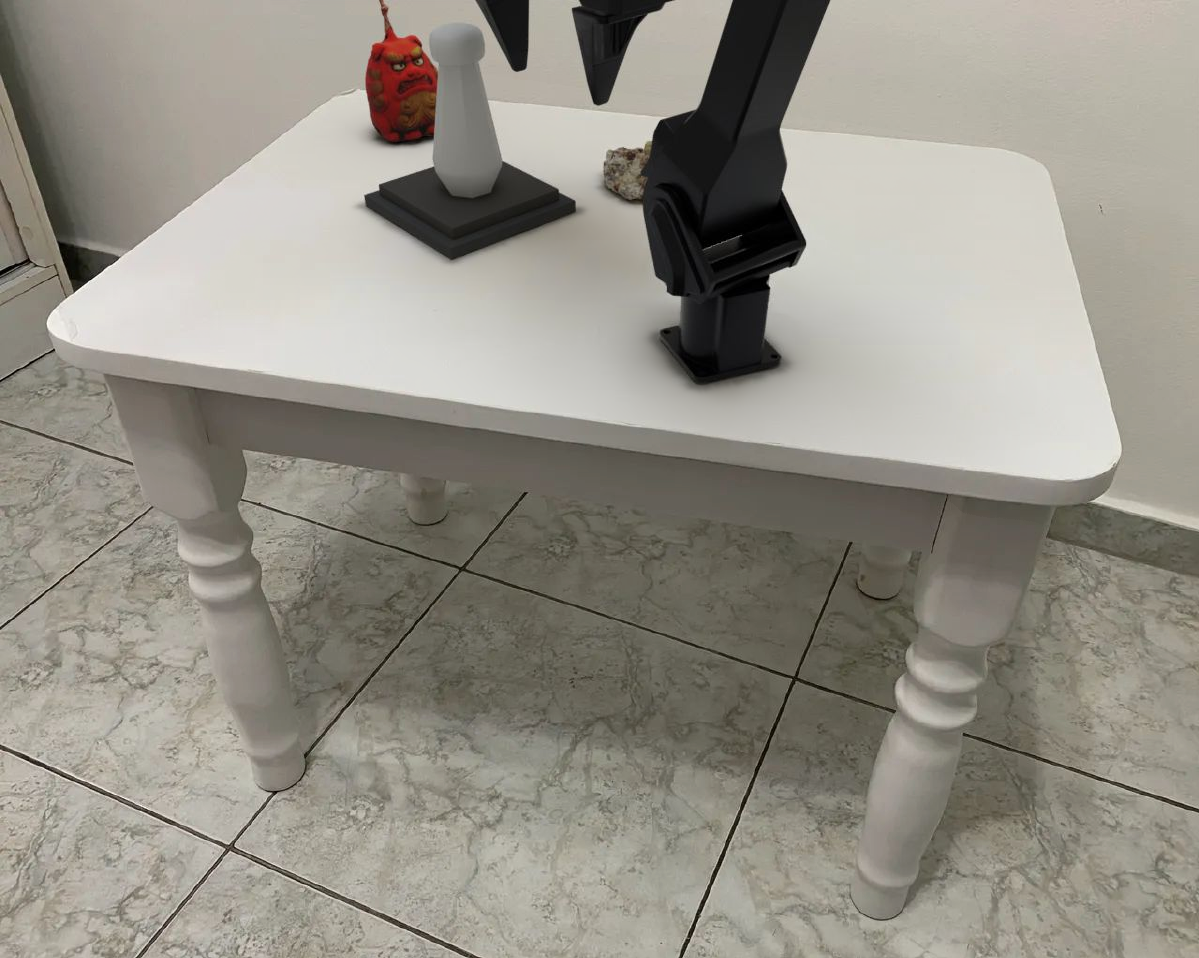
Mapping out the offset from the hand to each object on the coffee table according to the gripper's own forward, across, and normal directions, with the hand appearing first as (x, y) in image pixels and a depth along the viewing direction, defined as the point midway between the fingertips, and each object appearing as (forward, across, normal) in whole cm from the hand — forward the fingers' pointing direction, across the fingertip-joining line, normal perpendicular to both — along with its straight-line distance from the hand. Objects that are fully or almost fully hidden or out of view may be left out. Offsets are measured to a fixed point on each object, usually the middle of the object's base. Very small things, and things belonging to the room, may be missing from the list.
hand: (558, 86), depth 73 cm
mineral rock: (+13, +3, -14) cm, 20 cm away
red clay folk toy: (+13, +29, -4) cm, 32 cm away
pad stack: (+13, +11, +1) cm, 17 cm away
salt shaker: (+11, +11, +1) cm, 16 cm away
